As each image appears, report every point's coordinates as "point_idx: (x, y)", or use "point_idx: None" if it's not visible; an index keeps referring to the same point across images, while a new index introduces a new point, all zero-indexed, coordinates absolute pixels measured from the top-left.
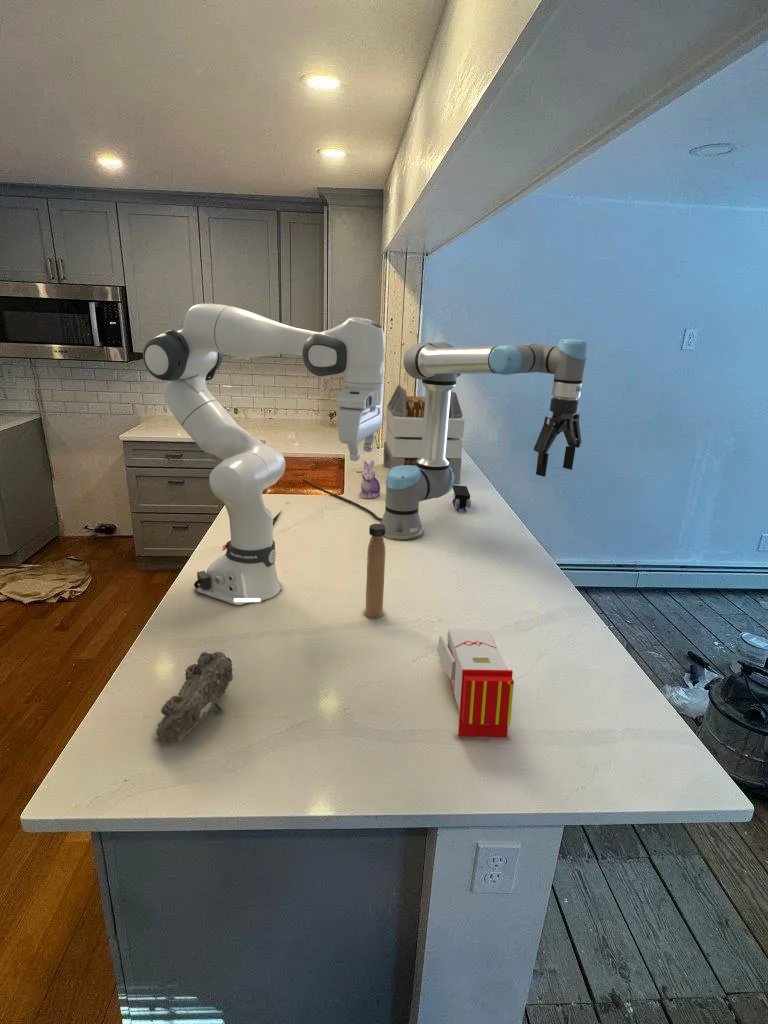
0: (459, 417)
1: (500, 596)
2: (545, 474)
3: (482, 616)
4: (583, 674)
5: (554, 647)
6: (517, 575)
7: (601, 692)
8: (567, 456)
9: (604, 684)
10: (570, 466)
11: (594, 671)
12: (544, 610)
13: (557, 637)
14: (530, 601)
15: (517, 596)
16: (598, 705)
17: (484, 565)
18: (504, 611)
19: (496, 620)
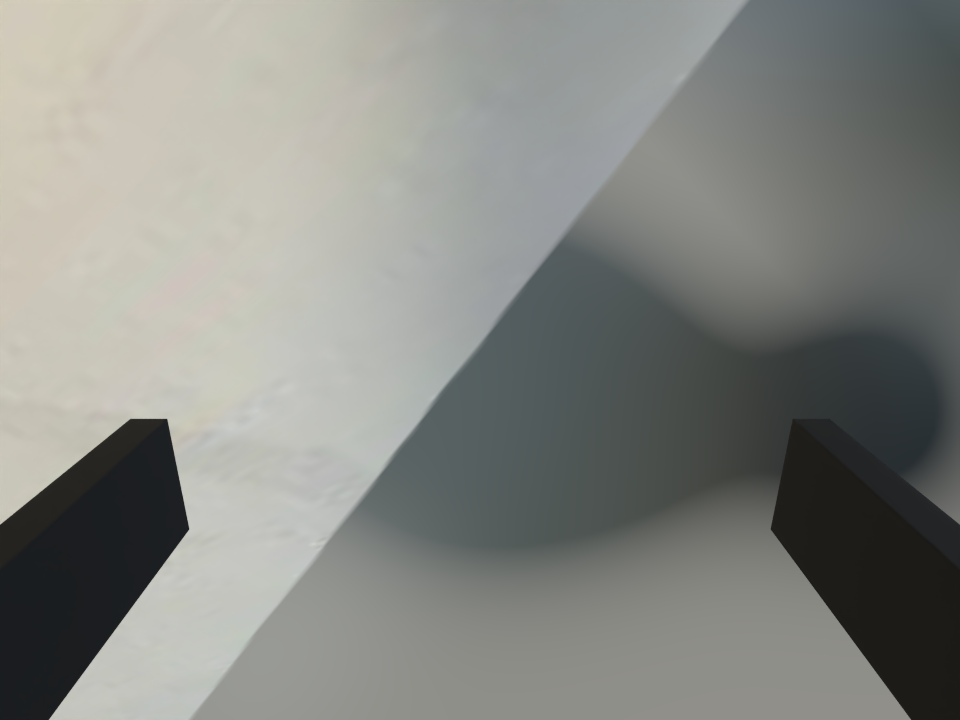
0: None
1: (174, 273)
2: (175, 543)
3: (14, 328)
4: None
5: None
6: (375, 197)
7: (74, 686)
8: (896, 580)
9: (104, 678)
10: (794, 546)
11: (122, 646)
12: (243, 424)
13: None
14: (248, 362)
15: (233, 312)
16: None
17: (322, 24)
18: (110, 351)
19: (45, 372)
